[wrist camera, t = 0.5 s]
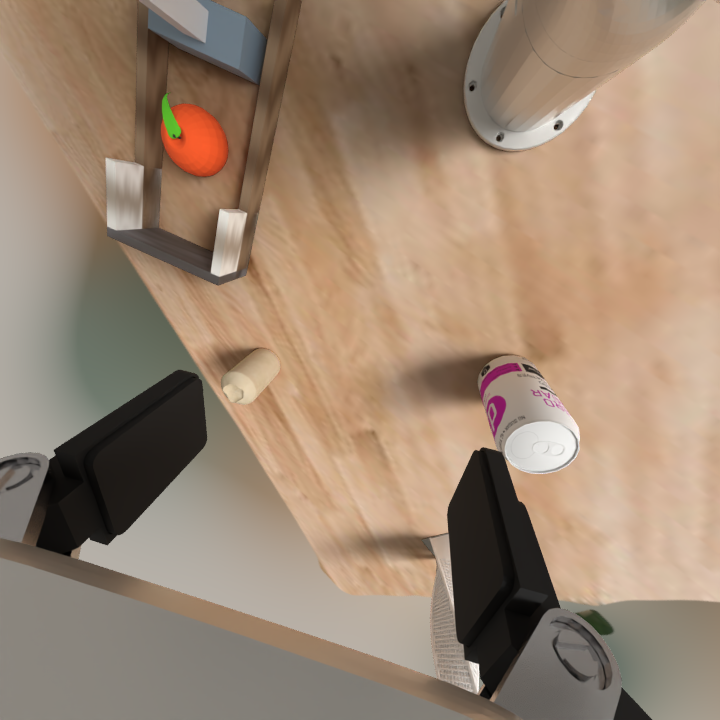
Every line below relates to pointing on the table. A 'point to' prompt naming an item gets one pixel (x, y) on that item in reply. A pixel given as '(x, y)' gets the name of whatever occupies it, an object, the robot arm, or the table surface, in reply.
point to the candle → (250, 376)
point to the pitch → (143, 177)
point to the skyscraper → (447, 623)
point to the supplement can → (527, 416)
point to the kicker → (210, 34)
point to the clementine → (193, 139)
